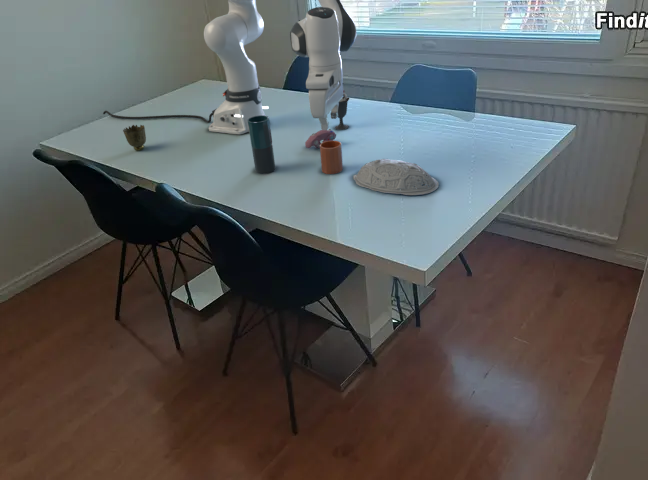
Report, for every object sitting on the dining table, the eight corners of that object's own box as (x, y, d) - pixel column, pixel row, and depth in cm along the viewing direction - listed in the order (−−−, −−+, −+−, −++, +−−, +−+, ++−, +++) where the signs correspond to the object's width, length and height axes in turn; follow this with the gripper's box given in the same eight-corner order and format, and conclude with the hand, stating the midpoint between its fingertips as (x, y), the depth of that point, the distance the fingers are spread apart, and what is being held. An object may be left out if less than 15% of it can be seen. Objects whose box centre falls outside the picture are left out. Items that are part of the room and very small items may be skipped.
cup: (319, 173, 163) (316, 148, 159) (325, 165, 168) (323, 140, 163) (339, 174, 161) (337, 148, 157) (345, 166, 166) (343, 140, 161)
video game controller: (309, 155, 180) (312, 139, 174) (303, 145, 182) (306, 130, 176) (335, 147, 183) (339, 131, 177) (329, 138, 185) (332, 122, 179)
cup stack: (252, 173, 168) (244, 122, 159) (260, 165, 173) (252, 115, 164) (271, 174, 166) (264, 122, 157) (278, 165, 171) (271, 115, 162)
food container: (422, 199, 141) (422, 174, 138) (342, 186, 156) (341, 163, 153) (448, 182, 152) (449, 158, 149) (371, 171, 166) (370, 149, 163)
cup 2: (153, 145, 198) (148, 124, 194) (142, 153, 192) (136, 131, 188) (136, 145, 200) (130, 124, 196) (125, 153, 195) (118, 131, 190)
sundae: (351, 123, 197) (348, 81, 188) (350, 130, 191) (348, 86, 183) (332, 124, 198) (329, 82, 189) (331, 131, 192) (328, 88, 184)
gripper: (325, 64, 158) (329, 111, 166) (303, 84, 142) (308, 136, 150) (346, 63, 156) (349, 111, 164) (326, 84, 140) (330, 136, 148)
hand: (330, 123), depth 157 cm, fingers open, 8 cm apart
